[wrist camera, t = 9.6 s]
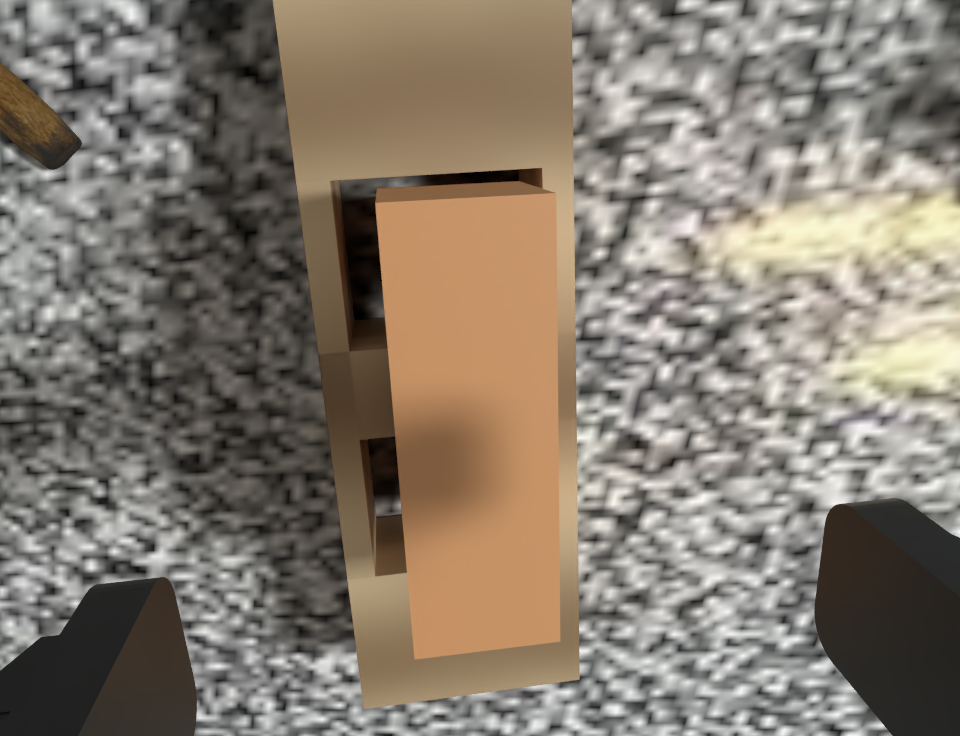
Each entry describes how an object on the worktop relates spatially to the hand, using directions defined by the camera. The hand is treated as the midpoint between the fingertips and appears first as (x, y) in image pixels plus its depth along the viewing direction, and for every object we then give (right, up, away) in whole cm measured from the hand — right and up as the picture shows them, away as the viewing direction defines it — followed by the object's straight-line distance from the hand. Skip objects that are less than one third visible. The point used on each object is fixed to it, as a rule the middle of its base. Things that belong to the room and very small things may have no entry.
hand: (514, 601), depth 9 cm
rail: (-1, +3, +11) cm, 12 cm away
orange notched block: (-1, +3, +11) cm, 12 cm away
